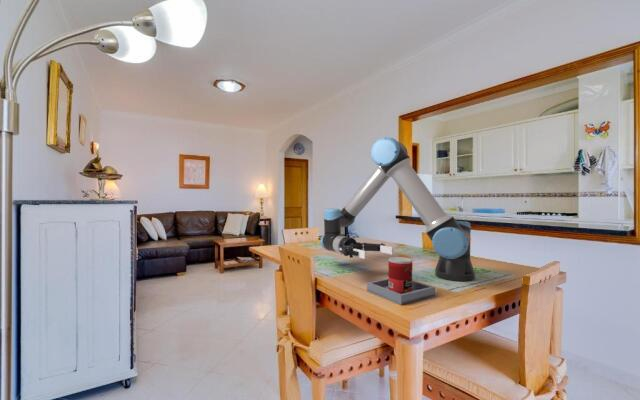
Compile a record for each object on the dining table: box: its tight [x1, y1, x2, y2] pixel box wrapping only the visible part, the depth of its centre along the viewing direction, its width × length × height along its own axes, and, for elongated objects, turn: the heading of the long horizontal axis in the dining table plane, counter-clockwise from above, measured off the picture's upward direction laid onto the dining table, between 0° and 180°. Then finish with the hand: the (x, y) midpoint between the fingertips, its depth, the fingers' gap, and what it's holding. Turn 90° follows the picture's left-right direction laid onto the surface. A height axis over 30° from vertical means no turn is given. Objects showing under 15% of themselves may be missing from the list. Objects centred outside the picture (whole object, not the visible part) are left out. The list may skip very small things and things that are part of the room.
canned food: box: [388, 256, 413, 294], centre depth 105 cm, size 8×8×11 cm
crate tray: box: [366, 277, 436, 306], centre depth 105 cm, size 16×16×3 cm
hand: (379, 252), depth 113 cm, fingers open, 13 cm apart
